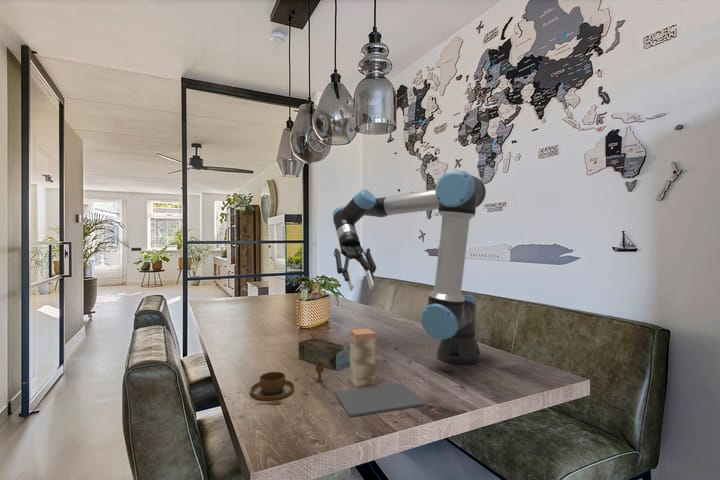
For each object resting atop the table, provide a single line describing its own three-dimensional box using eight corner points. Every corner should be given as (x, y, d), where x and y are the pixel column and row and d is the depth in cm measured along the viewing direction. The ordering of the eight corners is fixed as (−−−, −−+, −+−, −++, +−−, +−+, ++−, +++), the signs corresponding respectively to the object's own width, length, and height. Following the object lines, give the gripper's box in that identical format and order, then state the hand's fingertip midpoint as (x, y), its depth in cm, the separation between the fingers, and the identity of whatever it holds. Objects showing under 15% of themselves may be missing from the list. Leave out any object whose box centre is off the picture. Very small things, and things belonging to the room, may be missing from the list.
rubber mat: (401, 384, 107) (401, 382, 107) (424, 405, 93) (424, 403, 93) (334, 393, 100) (334, 391, 100) (349, 417, 87) (349, 414, 87)
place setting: (258, 381, 111) (258, 361, 111) (324, 380, 111) (324, 361, 111) (242, 407, 93) (242, 384, 93) (320, 406, 94) (320, 384, 94)
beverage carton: (335, 371, 118) (336, 351, 118) (297, 359, 130) (297, 340, 130) (352, 365, 124) (352, 345, 124) (313, 353, 136) (313, 336, 136)
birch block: (368, 376, 113) (368, 328, 113) (375, 384, 107) (375, 333, 107) (349, 378, 111) (350, 329, 111) (355, 386, 106) (355, 334, 105)
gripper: (370, 245, 143) (385, 293, 128) (321, 246, 137) (332, 295, 122) (375, 232, 138) (391, 279, 123) (325, 231, 132) (336, 281, 117)
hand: (362, 287), depth 122 cm, fingers open, 6 cm apart
